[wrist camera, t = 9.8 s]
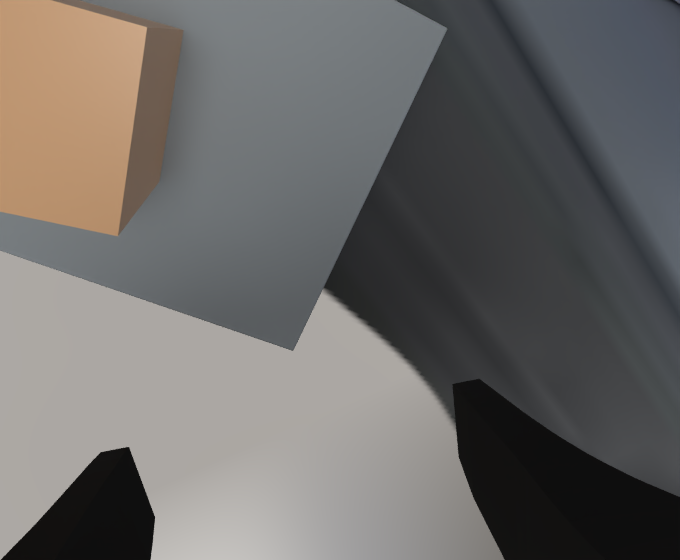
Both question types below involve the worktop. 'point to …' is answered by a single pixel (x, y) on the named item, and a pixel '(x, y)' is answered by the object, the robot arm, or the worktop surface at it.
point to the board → (254, 158)
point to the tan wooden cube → (82, 111)
